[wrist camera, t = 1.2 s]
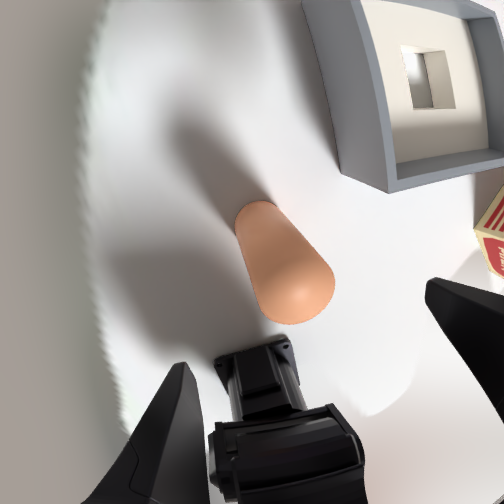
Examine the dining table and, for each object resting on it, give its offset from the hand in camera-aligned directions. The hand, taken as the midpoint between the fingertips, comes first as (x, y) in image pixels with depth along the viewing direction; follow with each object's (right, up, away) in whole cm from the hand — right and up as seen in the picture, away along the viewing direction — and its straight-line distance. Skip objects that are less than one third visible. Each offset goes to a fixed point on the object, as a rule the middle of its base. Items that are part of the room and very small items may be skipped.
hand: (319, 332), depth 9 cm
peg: (-2, +4, +9) cm, 10 cm away
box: (+9, +15, +6) cm, 19 cm away
